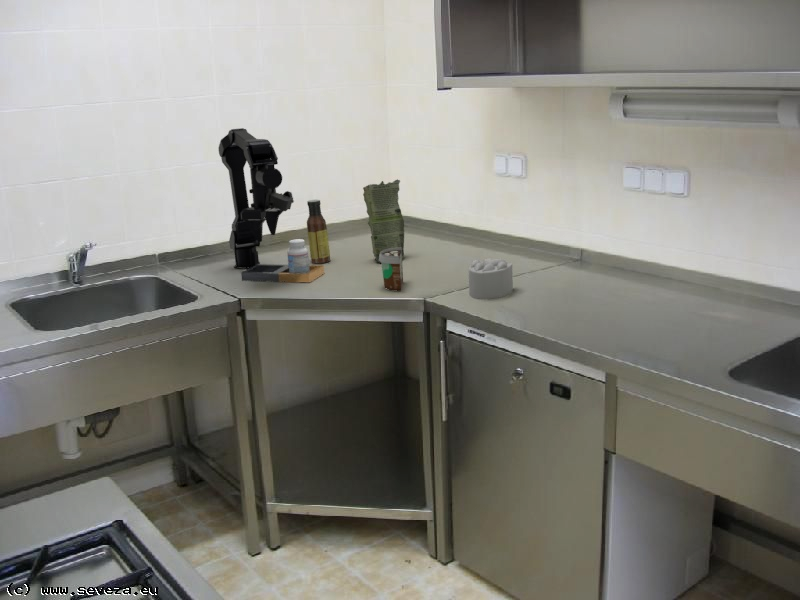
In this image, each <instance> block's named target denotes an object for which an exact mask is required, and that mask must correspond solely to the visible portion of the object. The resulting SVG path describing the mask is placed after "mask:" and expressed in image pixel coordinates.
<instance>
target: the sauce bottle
mask: <svg viewBox="0 0 800 600" xmlns="http://www.w3.org/2000/svg"><path fill="white" fill-rule="evenodd" d="M306 202H307V206H308V214H309V215H308V218H307V220H306V228H307V238H308V245H309V247H308V248H309V256H310V259H311V260H310V261H311V263H313V264H326V263H329V262H330V261H331V252H330V245H329V244H330V243H329V235H328V228H327V222H326V220H325V218H324V216H323V214H322V211H321V209H322V208H321V200H320V199H310V200H307V201H306Z"/></svg>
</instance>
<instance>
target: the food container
mask: <svg viewBox="0 0 800 600" xmlns="http://www.w3.org/2000/svg"><path fill="white" fill-rule="evenodd" d="M379 261H380V262H379V263H381V271H382V278H383V279H382V280H383V286H384V289H385V288H387V289H389V290H388V291H392V290H397V291H396V292H402V291H401V290H403V286H404V272H403V256H402V247H396V248H389V249H385V250H382V251H381V252H380V254H379ZM387 289H386V290H387Z"/></svg>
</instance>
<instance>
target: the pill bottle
mask: <svg viewBox="0 0 800 600" xmlns="http://www.w3.org/2000/svg"><path fill="white" fill-rule="evenodd" d="M305 242H306V241H305V239H303V238H298V239H297V238H295V239H292V240H289V241H288V245H289V248H288V250H287V262H288V264H287V265H289V273H308V272H310V268H309V265H310V259H309V250H308V247H306V246H305V245H306V243H305Z"/></svg>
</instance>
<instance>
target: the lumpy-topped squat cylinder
mask: <svg viewBox="0 0 800 600" xmlns="http://www.w3.org/2000/svg"><path fill="white" fill-rule="evenodd" d="M513 275H514V273H513V263H512V262H508V261H506V260H505V259H503V258H492V257H488V258H485V259H484V260H480V259H474V260H473V261H472V262H471V264H470V266H468V294H469V297H471V298H473V299H476V300H494V299H499V298H501V297H502V298H503V297H506V296H508V295H509V294H511V293H512V292H513V291H514V289H513V288H514V283H513V282H514V280H513Z"/></svg>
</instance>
